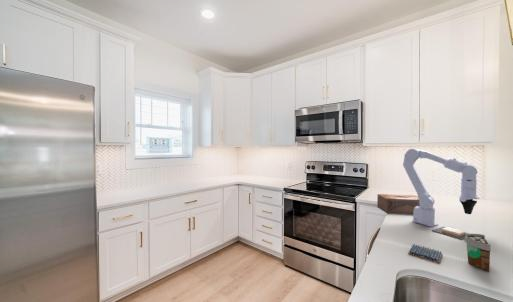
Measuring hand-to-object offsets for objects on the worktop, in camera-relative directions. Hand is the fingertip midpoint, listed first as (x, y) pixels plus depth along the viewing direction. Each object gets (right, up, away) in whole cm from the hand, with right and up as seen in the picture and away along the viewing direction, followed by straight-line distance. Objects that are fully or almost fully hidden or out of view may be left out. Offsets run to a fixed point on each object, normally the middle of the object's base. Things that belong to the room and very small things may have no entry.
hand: (468, 213), depth 114 cm
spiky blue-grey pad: (-42, -10, -25) cm, 50 cm away
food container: (-29, -10, -32) cm, 44 cm away
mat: (-11, -9, -2) cm, 14 cm away
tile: (-9, -8, -3) cm, 12 cm away
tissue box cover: (-10, -9, +38) cm, 40 cm away
